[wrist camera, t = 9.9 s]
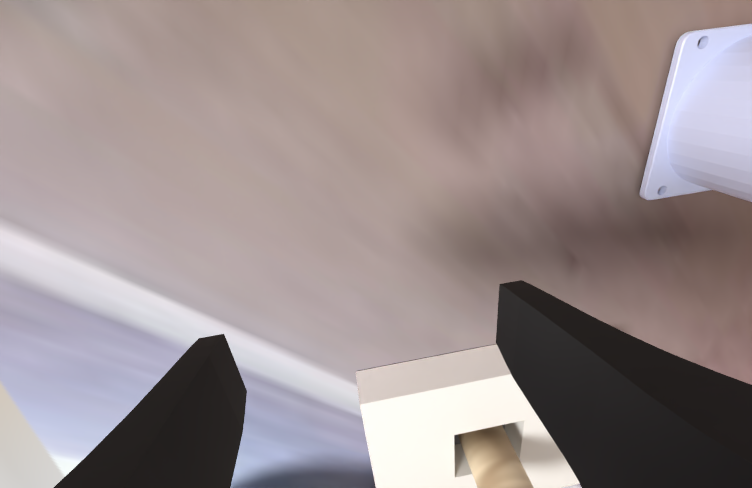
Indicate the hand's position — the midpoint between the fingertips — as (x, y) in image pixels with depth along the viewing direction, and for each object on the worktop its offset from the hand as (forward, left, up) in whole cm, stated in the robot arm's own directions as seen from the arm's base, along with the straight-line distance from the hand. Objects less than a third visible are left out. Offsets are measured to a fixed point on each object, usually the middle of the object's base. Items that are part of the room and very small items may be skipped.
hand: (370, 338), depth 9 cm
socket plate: (-7, +18, -9) cm, 21 cm away
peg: (-7, +18, -9) cm, 21 cm away
